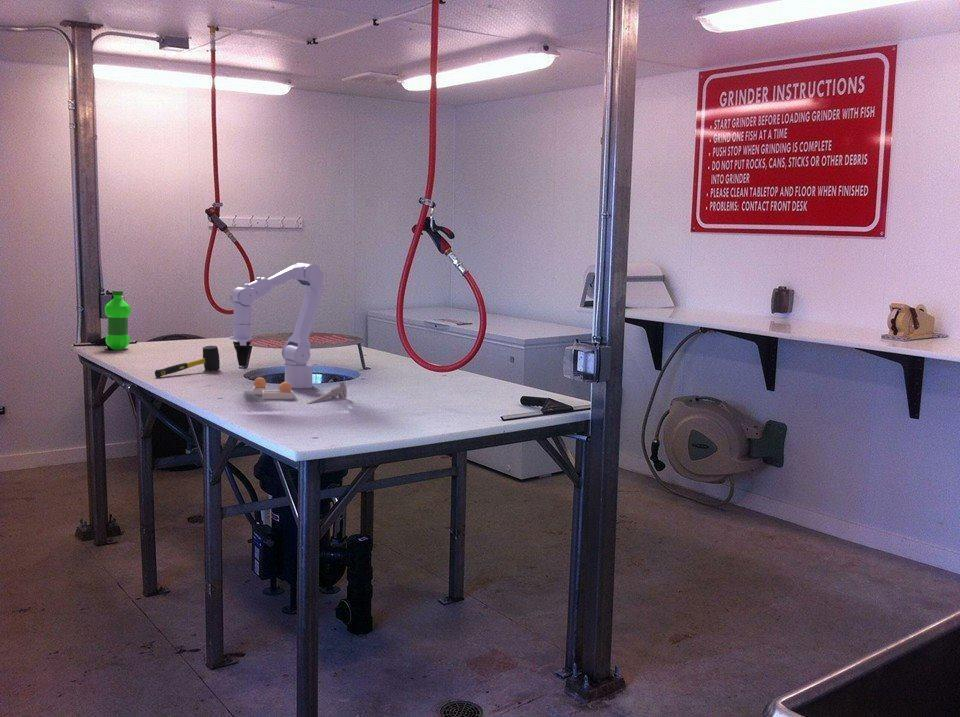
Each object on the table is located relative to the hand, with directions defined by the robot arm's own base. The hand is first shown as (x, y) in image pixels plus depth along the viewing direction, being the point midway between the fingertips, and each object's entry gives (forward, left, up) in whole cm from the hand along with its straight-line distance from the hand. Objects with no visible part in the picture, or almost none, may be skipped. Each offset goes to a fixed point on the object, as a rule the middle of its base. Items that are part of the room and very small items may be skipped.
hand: (241, 364), depth 294 cm
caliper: (-26, +17, -10) cm, 33 cm away
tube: (-6, +5, -9) cm, 12 cm away
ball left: (-13, +13, -6) cm, 19 cm away
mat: (-9, +10, -10) cm, 16 cm away
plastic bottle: (+45, -106, -10) cm, 116 cm away
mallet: (+17, -41, -10) cm, 46 cm away
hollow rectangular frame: (-11, +13, -9) cm, 19 cm away
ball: (-6, +5, -6) cm, 9 cm away
